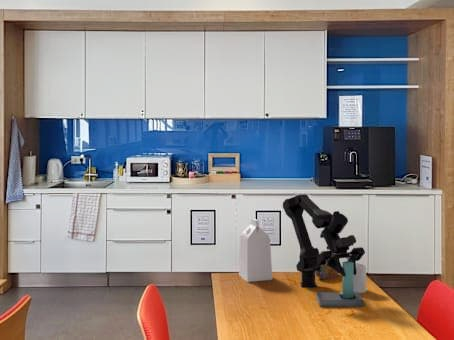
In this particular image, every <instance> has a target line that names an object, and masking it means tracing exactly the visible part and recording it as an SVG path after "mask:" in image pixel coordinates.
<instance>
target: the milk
mask: <svg viewBox="0 0 454 340" xmlns="http://www.w3.org/2000/svg"><path fill="white" fill-rule="evenodd" d="M271 249H272V248H271V238H270V236H269V234H267V233H266V232H265V231H264V230H263V229H262V228H261V227H260V222H259V219H256V218H250V224H249V225H248V226H247V227H246V228H245V229H244V230H243V231H242V232H241V233H240V237H239V260H238V263H239V264H238V267H239V269H238V276H239V277H240V276H241V277H240V278H242V279H243V280H244V281H245V282H248V283H251V282H259V281H260V282H261V281H272V280H273V268H272V267H273V265H272V252H271V251H272V250H271Z"/></svg>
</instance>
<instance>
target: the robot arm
mask: <svg viewBox="0 0 454 340" xmlns="http://www.w3.org/2000/svg"><path fill="white" fill-rule="evenodd" d="M282 208H283V211H284V213H285V215H286V216H287V217H288V218H289V219H290V220H291V222H292V226H293V229H294V232H295V236H296V238H297V241H298V244H299V247H300V254H299V261H298V262H297V264H296V265H295V266H296V271H298V272H300V273H301V281H300V282H299V284H300V287H302V288H311V287H312V288H315V287H316V288H317V287H318V284H317V282H316V271H320V267H321V265H325V264H326V260H327V262H328V263H327V266H330V267H331V268H333V269H334V270H336V271H337V272H338V273H339V275H341V276H342V277H343V276H345V272H344V270H343V265H342V264H341V261H340V259H346V261H349V262H353V263H354V275H356V263H357V262H358V261H360V260H361V259H362V257H363V256H364V255H365V254H366V251H365V249H364V248H363V247H362V246H360V247H359V246H357V247H353V248H352V249H351V250H350V247H352V246H354V245H355V244H356V243H357V239H356V237H355V236H354V234H351V235H347V236H345V237H340V234H341V233H342V232H343V230H344V229H345V227H346V226H347V224H348V223H349V222H348V221H349V220H348V217H347V216H345V214H343V213H340V211H339V210H337V211H335V210H334V211H333V213H331V212H329V211H327V210H324V209H321V208H320V207H319V206H318V205H317V204H316V203H315V202H314V201H313V200H312V199H311V198H310V196H309V195H308V194H305V193H304V194H302V193H301V194H297V195H294V196H293V197H290V198H286V199H284V201H282ZM304 211H305V213H307V214H308V215H309V216H310V217H311V222H312V224H313V225H314V227H315V228H316V229H322V230H321V231H320V234H319V238H321V239H324V241H325V243H326V245H327V246H326V250H322V251H319V249H318V247H314V246H313V245H312V241H311V238H310V235H309V232H308V229H307V226H306V223H305V220H304V217H303V215H304V214H303V213H304ZM349 250H350V251H349Z"/></svg>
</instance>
